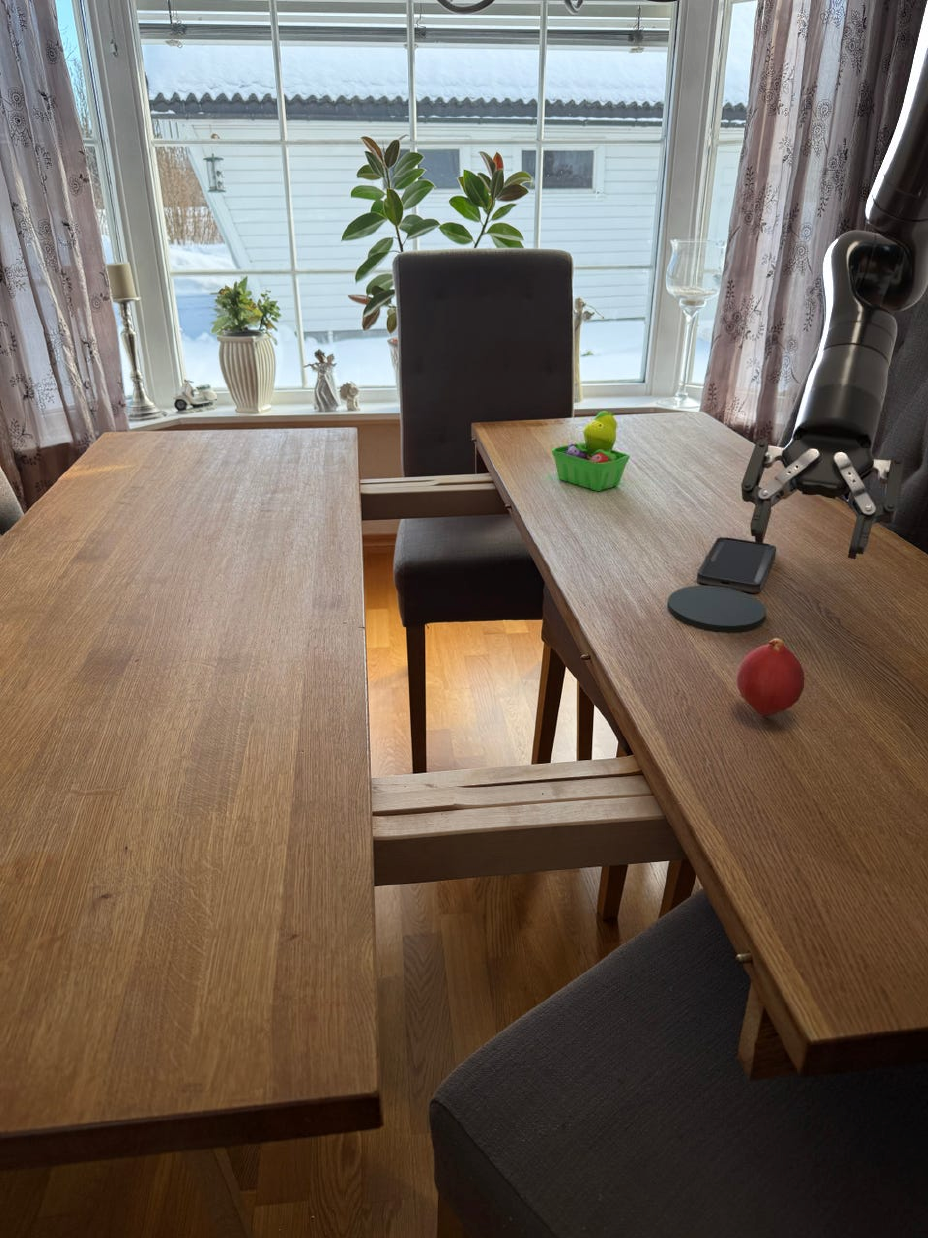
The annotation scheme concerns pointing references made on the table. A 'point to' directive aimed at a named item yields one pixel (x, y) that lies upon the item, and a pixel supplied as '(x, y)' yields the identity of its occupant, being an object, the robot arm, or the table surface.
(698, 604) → the dark grey flat disc
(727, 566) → the phone
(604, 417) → the fruit basket
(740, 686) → the onion
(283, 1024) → the table surface
